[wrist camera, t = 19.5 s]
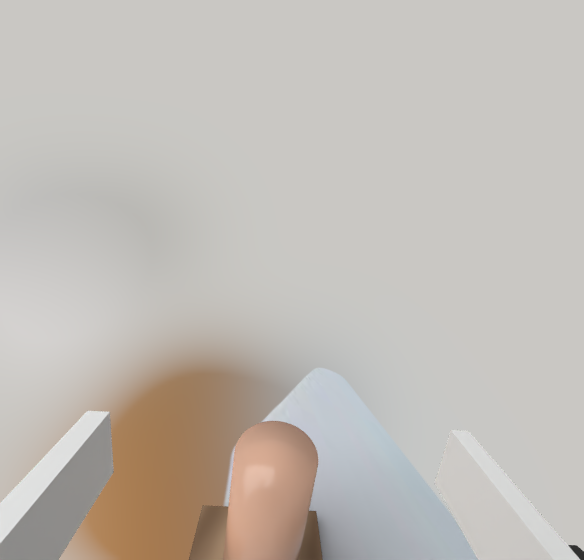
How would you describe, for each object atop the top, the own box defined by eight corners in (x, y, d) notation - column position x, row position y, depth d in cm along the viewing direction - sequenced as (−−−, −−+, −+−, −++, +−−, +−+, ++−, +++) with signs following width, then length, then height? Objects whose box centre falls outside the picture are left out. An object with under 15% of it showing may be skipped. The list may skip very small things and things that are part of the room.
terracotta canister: (289, 543, 30) (312, 423, 26) (293, 640, 23) (324, 497, 19) (226, 541, 29) (240, 418, 26) (211, 639, 23) (227, 492, 19)
